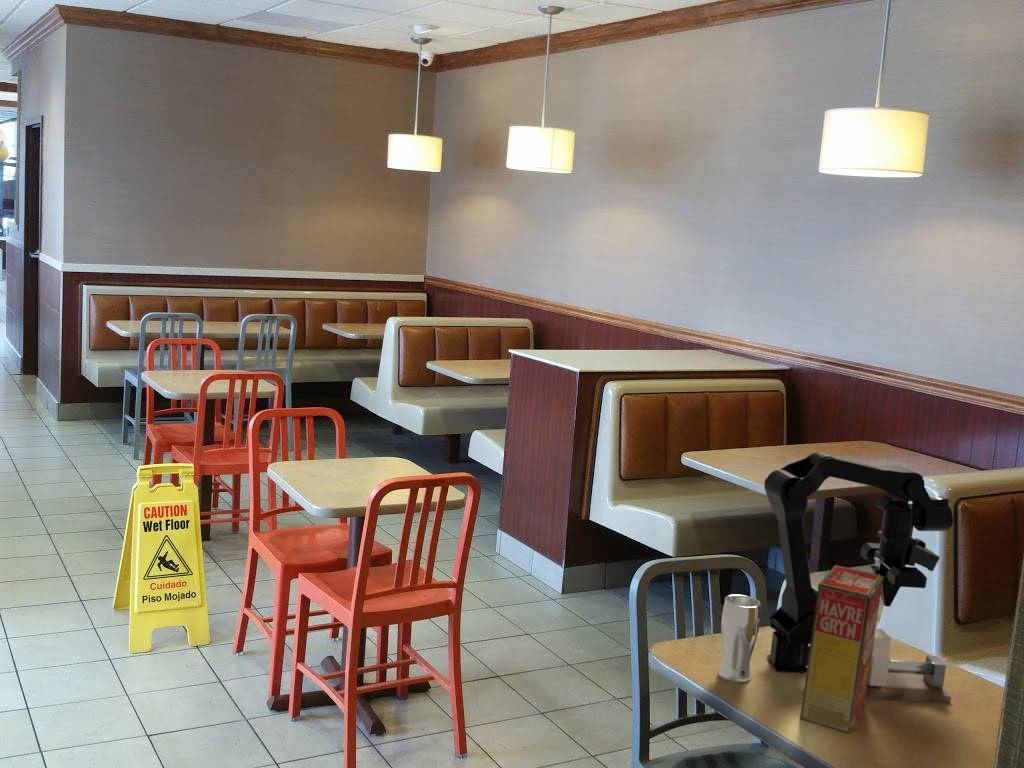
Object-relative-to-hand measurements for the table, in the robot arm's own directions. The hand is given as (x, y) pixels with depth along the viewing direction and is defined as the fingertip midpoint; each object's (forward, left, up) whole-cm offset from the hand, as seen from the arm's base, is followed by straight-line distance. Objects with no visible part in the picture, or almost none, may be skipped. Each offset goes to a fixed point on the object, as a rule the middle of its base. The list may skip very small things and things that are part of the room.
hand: (886, 605), depth 205 cm
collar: (-6, -12, -10) cm, 17 cm away
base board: (-2, -12, -12) cm, 17 cm away
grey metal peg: (-2, -12, -11) cm, 16 cm away
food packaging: (-17, -23, -12) cm, 31 cm away
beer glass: (-32, -10, -12) cm, 36 cm away
